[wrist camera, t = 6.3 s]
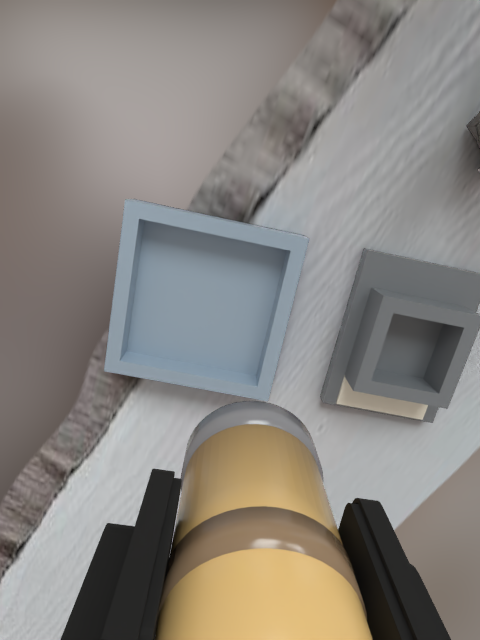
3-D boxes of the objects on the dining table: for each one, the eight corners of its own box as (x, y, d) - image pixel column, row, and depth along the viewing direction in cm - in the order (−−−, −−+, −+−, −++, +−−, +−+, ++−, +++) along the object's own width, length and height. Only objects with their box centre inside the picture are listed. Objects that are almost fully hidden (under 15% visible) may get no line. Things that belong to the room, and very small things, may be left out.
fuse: (195, 391, 12) (67, 1019, 3) (328, 412, 13) (620, 1052, 3) (177, 504, 14) (39, 1230, 4) (299, 521, 14) (447, 1240, 4)
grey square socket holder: (364, 248, 29) (380, 255, 26) (481, 273, 30) (513, 283, 27) (320, 396, 33) (330, 419, 29) (427, 416, 33) (448, 441, 30)
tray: (134, 199, 28) (125, 199, 26) (303, 235, 29) (309, 238, 27) (114, 357, 31) (104, 371, 29) (265, 386, 32) (267, 401, 30)
